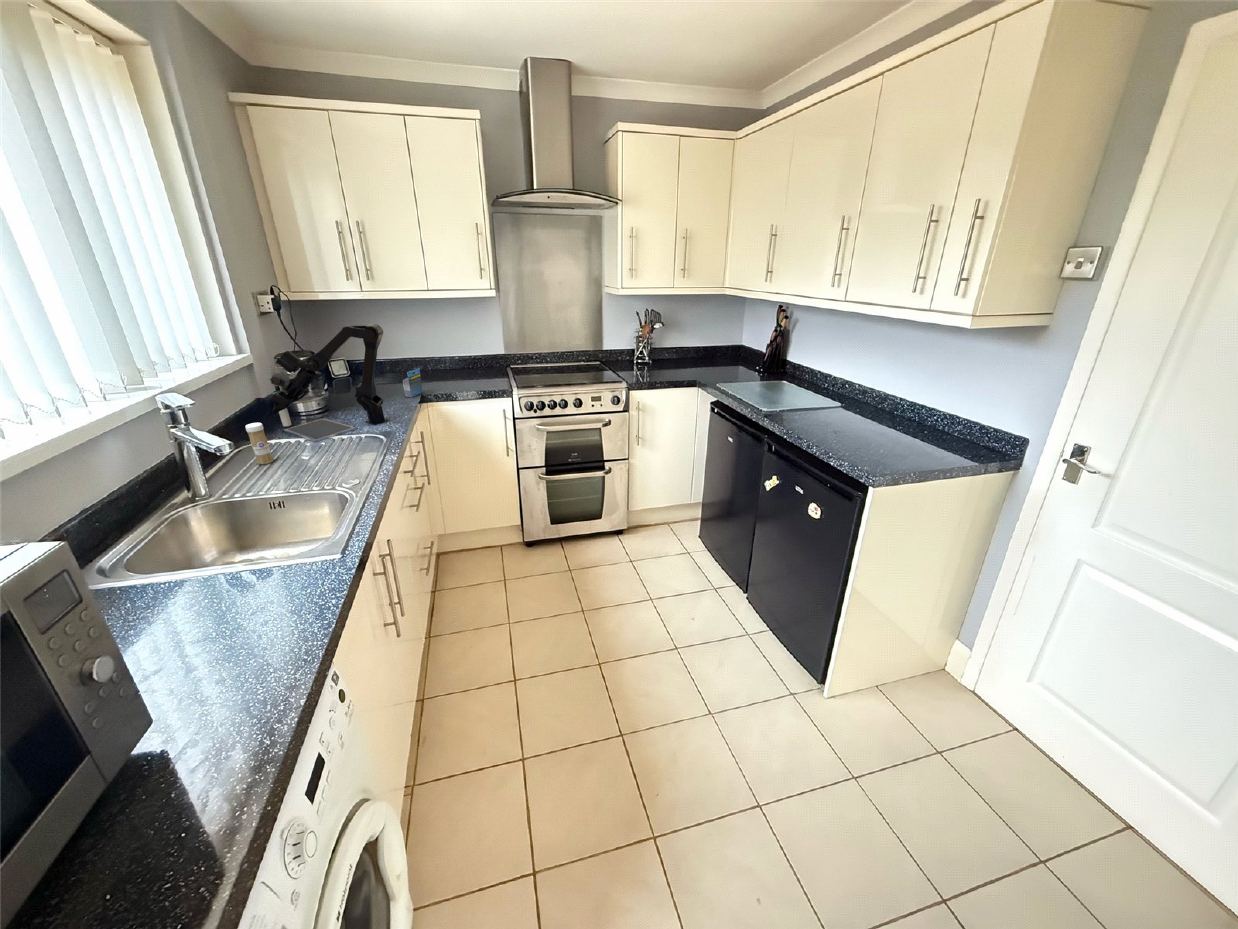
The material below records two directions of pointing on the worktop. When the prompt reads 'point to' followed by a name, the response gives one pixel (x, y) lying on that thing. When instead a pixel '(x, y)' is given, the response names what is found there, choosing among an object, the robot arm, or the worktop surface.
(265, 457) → the sprinkles bottle
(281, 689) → the worktop surface
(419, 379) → the label tape box
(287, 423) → the marker
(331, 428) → the tablet
